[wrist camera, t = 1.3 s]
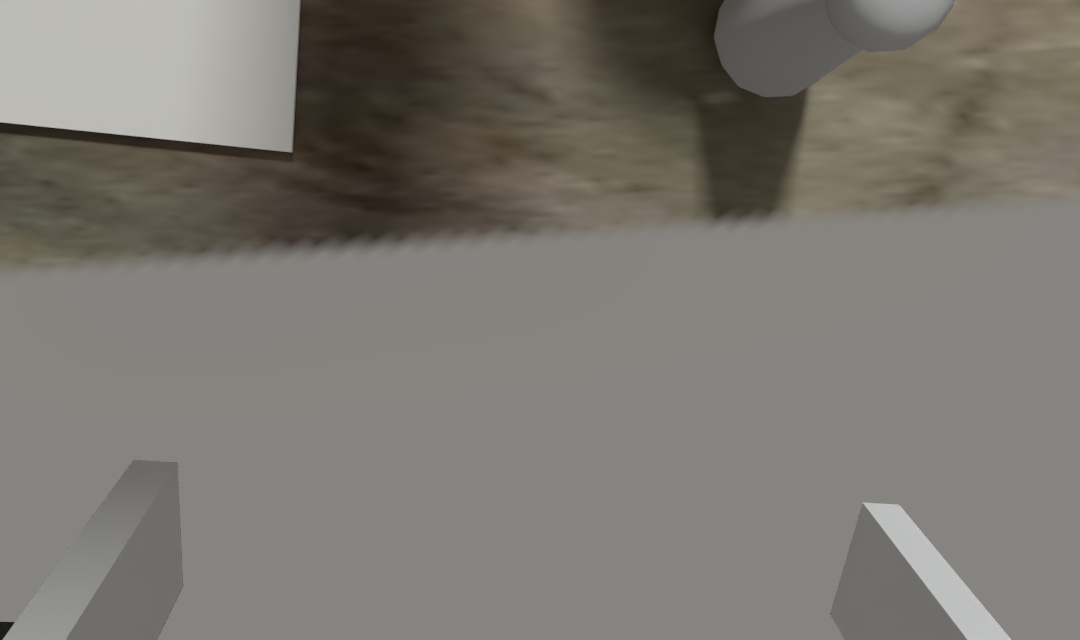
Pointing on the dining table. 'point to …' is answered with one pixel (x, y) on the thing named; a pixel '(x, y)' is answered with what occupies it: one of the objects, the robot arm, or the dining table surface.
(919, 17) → the salt shaker
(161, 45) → the mat
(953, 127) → the dining table surface
